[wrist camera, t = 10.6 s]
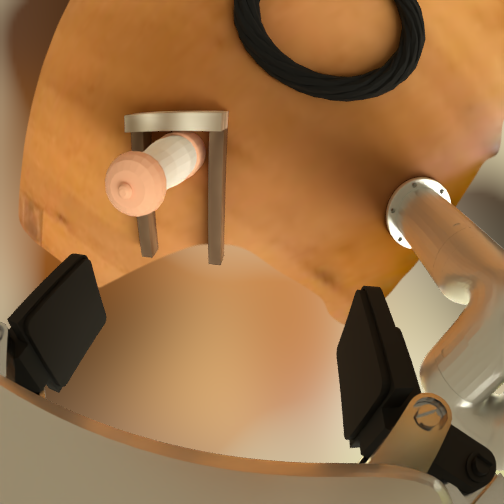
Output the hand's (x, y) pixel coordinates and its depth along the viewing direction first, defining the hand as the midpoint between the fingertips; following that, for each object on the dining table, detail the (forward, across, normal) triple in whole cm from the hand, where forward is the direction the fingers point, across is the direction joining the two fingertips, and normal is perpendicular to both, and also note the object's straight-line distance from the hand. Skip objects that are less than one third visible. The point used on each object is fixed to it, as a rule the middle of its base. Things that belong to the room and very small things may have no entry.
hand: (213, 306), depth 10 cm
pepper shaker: (+36, +13, +2) cm, 38 cm away
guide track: (+35, +13, +7) cm, 39 cm away
